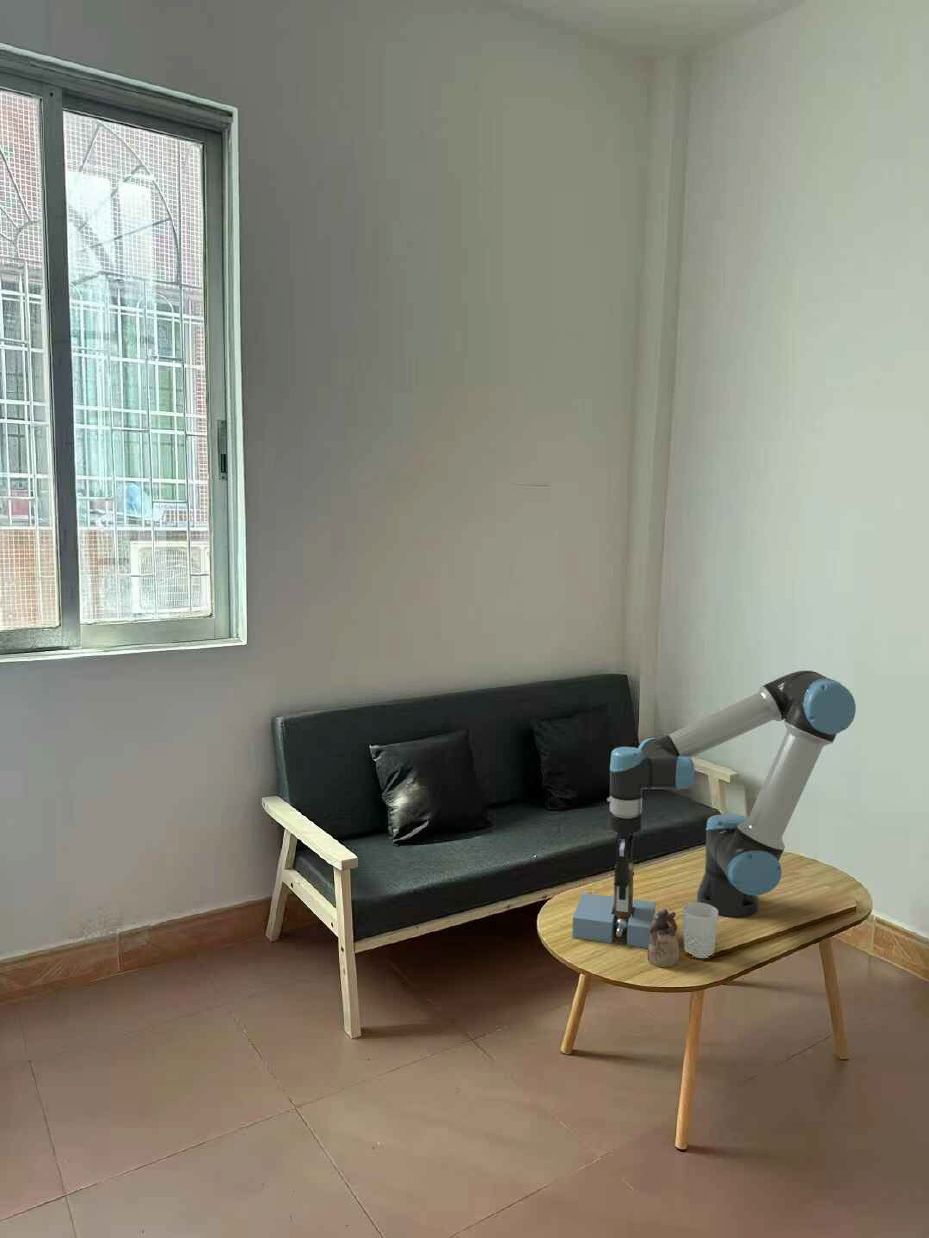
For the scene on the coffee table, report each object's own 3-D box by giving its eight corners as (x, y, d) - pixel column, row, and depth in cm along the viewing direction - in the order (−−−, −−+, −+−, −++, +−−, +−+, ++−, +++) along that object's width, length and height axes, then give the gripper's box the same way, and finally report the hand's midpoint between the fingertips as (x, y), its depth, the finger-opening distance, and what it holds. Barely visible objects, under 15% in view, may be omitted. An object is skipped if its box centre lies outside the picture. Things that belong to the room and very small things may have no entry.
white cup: (690, 939, 210) (691, 899, 209) (722, 949, 205) (724, 908, 204) (675, 952, 204) (676, 911, 203) (707, 963, 199) (709, 921, 198)
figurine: (656, 948, 206) (658, 899, 204) (684, 958, 201) (686, 908, 200) (640, 960, 200) (642, 910, 199) (669, 971, 196) (670, 919, 194)
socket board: (654, 921, 219) (655, 901, 219) (649, 948, 206) (650, 927, 205) (582, 911, 224) (582, 892, 224) (572, 937, 211) (572, 917, 210)
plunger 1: (633, 910, 222) (633, 899, 221) (630, 922, 215) (630, 910, 215) (620, 908, 223) (621, 897, 222) (617, 920, 216) (617, 908, 216)
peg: (632, 910, 215) (633, 862, 214) (630, 917, 212) (631, 869, 210) (615, 908, 216) (616, 860, 215) (613, 915, 213) (614, 867, 211)
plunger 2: (628, 928, 212) (628, 916, 212) (625, 941, 206) (625, 928, 206) (615, 926, 213) (616, 914, 213) (612, 939, 207) (612, 927, 207)
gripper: (614, 799, 220) (612, 889, 223) (604, 823, 204) (602, 920, 207) (645, 802, 218) (642, 893, 221) (637, 827, 202) (635, 924, 205)
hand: (623, 906), depth 214 cm, fingers closed on peg, 4 cm apart
